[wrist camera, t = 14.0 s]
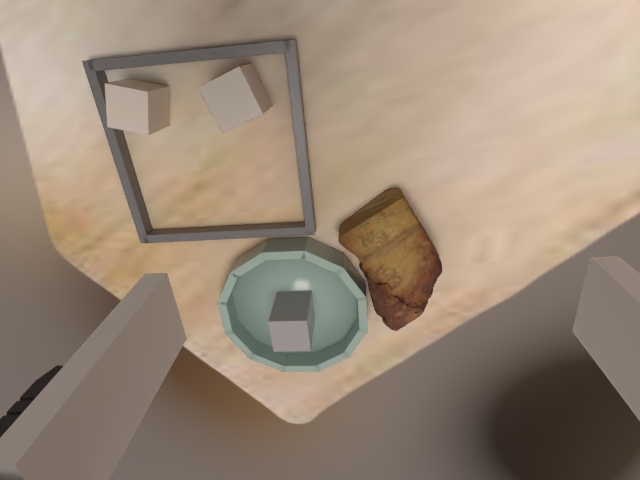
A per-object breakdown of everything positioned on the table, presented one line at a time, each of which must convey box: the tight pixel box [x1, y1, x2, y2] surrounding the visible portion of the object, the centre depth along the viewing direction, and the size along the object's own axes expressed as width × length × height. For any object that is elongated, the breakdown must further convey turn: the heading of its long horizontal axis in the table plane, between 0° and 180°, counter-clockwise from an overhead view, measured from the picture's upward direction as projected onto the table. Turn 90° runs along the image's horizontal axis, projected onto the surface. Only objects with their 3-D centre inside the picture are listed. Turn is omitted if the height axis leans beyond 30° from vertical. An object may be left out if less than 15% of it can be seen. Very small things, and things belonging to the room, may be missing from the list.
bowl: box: [218, 237, 368, 372], centre depth 50 cm, size 18×18×4 cm
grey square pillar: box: [268, 290, 315, 352], centre depth 48 cm, size 4×4×6 cm
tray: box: [82, 40, 316, 243], centre depth 43 cm, size 20×21×2 cm
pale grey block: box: [198, 63, 272, 133], centre depth 38 cm, size 4×4×5 cm
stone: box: [339, 188, 442, 331], centre depth 45 cm, size 15×9×5 cm, turn 26°
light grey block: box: [105, 79, 170, 135], centre depth 40 cm, size 4×4×5 cm
